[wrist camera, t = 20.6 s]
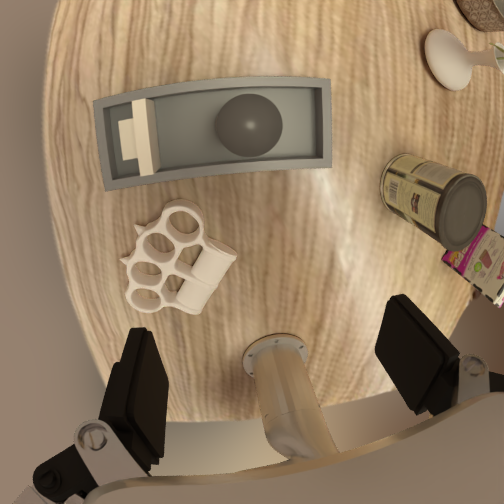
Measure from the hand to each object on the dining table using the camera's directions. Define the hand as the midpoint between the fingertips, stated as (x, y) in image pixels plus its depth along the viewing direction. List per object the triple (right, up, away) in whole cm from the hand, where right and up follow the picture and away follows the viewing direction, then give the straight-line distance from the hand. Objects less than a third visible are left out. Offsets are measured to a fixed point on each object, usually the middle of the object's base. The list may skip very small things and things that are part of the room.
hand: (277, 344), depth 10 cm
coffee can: (+23, +14, +30) cm, 40 cm away
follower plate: (-15, +17, +20) cm, 30 cm away
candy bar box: (+42, +6, +37) cm, 56 cm away
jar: (-3, +19, +22) cm, 29 cm away
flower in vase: (+30, +36, +20) cm, 51 cm away
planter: (+42, +52, +13) cm, 68 cm away
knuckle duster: (-12, +3, +30) cm, 33 cm away
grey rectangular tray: (-6, +19, +22) cm, 30 cm away
